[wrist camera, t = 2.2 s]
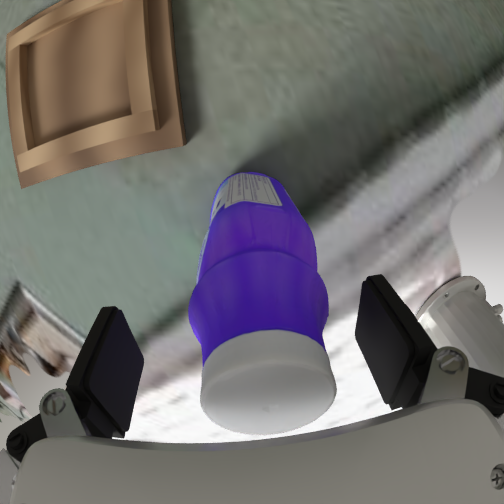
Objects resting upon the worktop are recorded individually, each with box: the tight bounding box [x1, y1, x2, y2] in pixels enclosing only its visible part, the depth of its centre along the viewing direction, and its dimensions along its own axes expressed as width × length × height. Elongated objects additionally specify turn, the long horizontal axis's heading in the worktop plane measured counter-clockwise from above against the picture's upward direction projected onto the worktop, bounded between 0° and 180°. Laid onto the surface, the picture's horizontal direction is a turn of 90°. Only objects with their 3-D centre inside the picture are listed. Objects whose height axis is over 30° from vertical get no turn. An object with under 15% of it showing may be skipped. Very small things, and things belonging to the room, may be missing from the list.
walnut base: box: [6, 0, 187, 189], centre depth 16 cm, size 16×16×3 cm
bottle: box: [188, 172, 337, 435], centre depth 15 cm, size 7×6×17 cm
